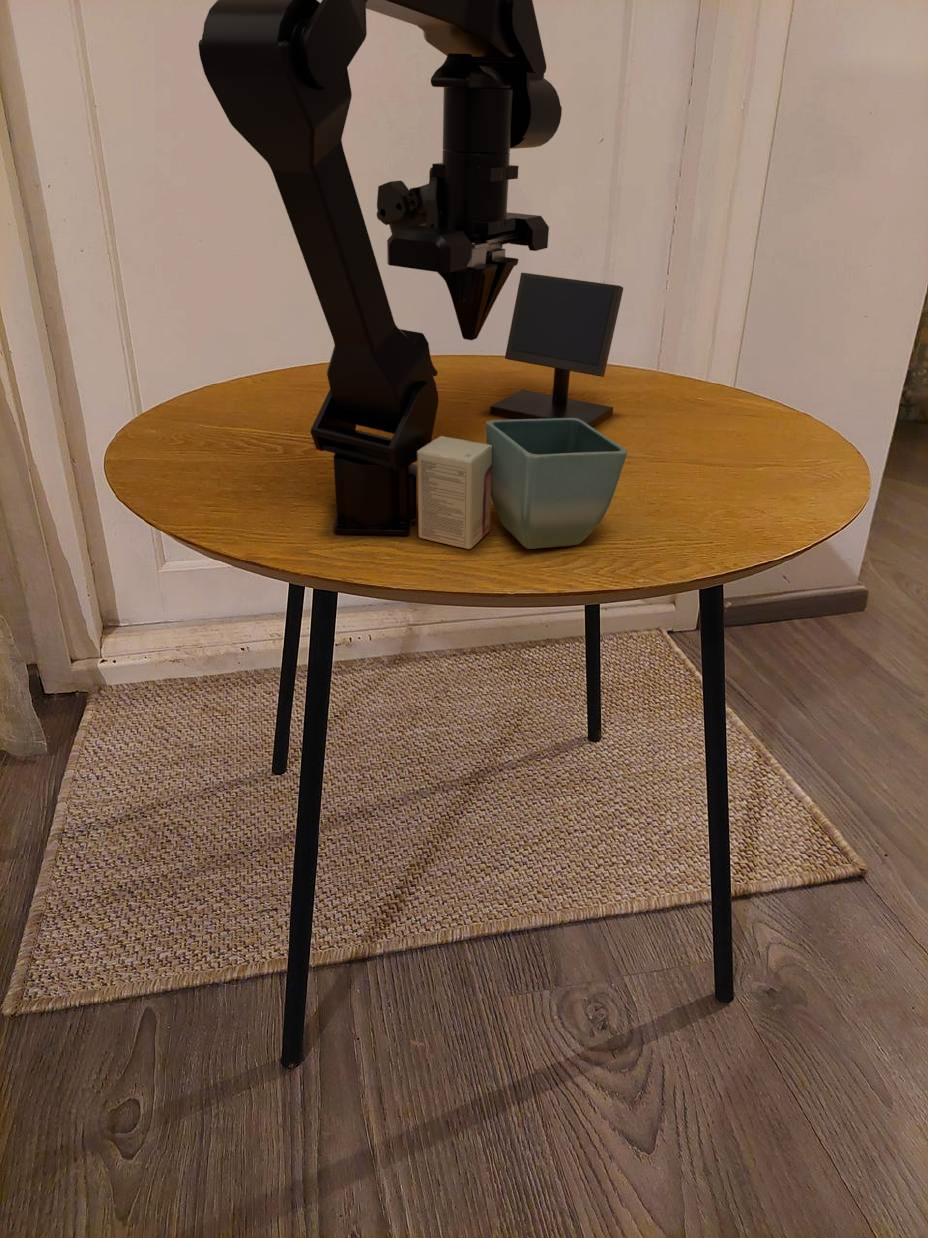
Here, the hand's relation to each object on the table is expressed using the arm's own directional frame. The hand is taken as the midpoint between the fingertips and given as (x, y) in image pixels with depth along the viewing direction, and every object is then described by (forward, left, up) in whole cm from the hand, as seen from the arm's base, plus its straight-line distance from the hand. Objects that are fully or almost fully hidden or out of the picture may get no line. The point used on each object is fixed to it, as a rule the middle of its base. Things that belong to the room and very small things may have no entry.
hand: (469, 338), depth 85 cm
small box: (-1, -16, -13) cm, 20 cm away
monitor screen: (+10, +16, -7) cm, 20 cm away
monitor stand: (+10, +17, -13) cm, 23 cm away
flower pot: (+6, -16, -13) cm, 22 cm away
